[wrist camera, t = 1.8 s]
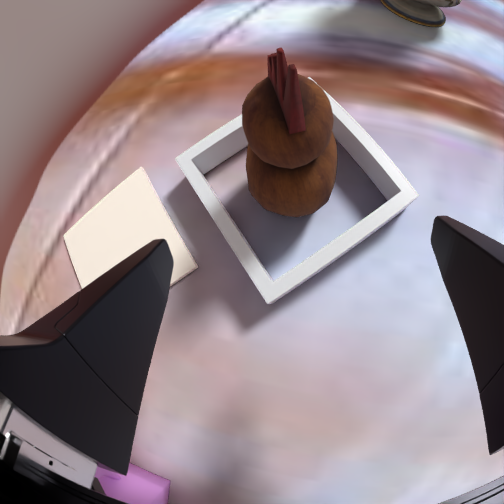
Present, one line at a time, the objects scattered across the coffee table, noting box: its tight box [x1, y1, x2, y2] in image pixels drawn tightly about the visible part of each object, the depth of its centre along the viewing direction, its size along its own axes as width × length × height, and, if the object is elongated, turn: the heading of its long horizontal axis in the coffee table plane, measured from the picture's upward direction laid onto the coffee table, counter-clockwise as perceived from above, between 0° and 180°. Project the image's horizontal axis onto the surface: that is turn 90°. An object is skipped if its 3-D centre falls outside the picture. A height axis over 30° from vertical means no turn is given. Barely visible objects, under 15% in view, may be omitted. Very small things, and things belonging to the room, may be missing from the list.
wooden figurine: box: [242, 48, 337, 217], centre depth 16 cm, size 7×6×15 cm
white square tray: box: [175, 77, 419, 304], centre depth 21 cm, size 13×13×3 cm
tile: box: [63, 167, 198, 289], centre depth 24 cm, size 11×11×1 cm
